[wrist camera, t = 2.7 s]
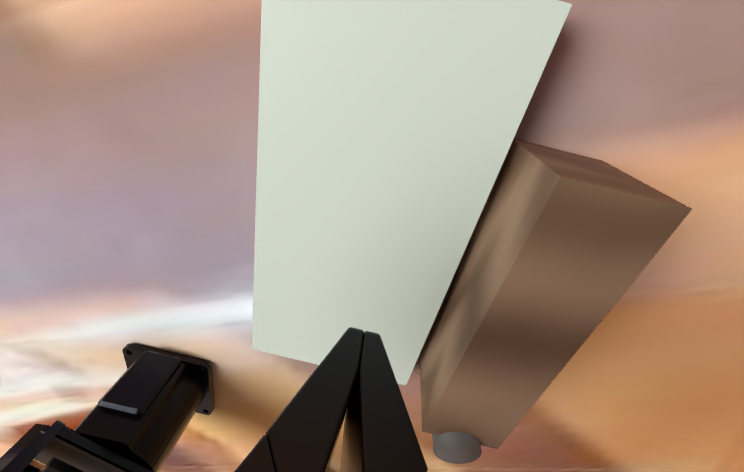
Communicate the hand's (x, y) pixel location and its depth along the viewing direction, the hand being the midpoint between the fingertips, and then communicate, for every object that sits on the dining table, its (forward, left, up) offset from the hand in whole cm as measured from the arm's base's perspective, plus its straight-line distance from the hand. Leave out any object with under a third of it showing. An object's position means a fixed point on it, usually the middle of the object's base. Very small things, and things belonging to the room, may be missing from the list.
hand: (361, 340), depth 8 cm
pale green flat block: (-1, +1, -9) cm, 9 cm away
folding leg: (-3, -7, -9) cm, 11 cm away
